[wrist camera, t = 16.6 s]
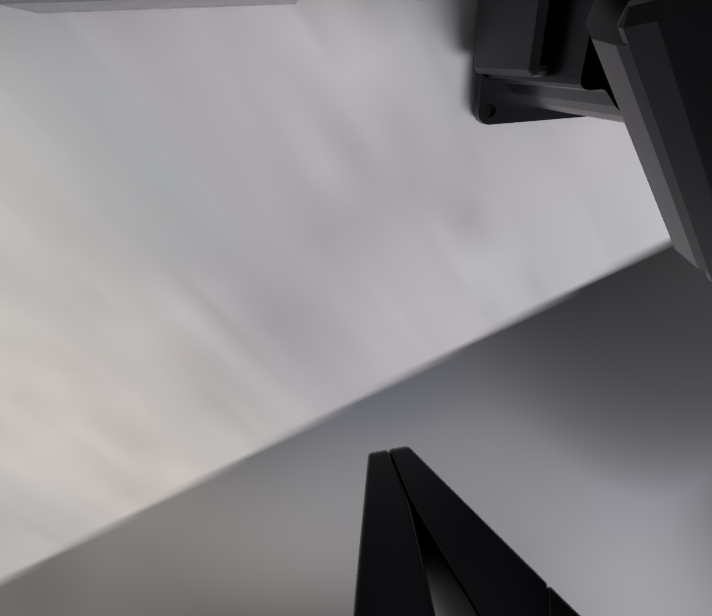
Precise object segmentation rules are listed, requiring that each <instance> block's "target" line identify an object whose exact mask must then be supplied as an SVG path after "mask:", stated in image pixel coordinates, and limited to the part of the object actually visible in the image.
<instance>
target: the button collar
mask: <svg viewBox="0 0 712 616" xmlns="http://www.w3.org/2000/svg"><path fill="white" fill-rule="evenodd" d="M297 1H298V0H0V5H2V6H7V7H12V8H17V9H21V10H26V11H31V12H35V13H56V12H83V11H111V10H139V9H166V8H194V7H222V6H249V5H277V4H296V2H297Z"/></svg>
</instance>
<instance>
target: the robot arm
mask: <svg viewBox="0 0 712 616" xmlns="http://www.w3.org/2000/svg"><path fill="white" fill-rule="evenodd" d="M473 67H474V69H475V70H476V71H477V82H476V94H475V105H474V116H475V118H476V120H477V121H478V122H480V123H483V124H488V125H490V124H502V123H514V122H526V121H538V120H550V119H562V118H574V117H586V116H588V117H594V118H600V119H606V120H612V121H617V122H623V123H625V125H626V127H627V130H628V132H629V135H630V137H631V140H632V142H633V145H634V147H635V150H636V152H637V155H638V157H639V160H640V162H641V165H642V167H643V170H644V172H645V175H646V177H647V180H648V182H649V185H650V187H651V190H652V192H653V195H654V197H655V200H656V203H657V205H658V208H659V210H660V213H661V215H662V218H663V220H664V223H665V225H666V228H667V230H668V233H669V235H670V238H671V240H672V243H673V245H674V248H675V249H676V250H677V251H678V252H679V253H680V254H682V255H683V256H684V257H685V258H687V260H689V261H690V262H691V263H692V264H693V265H695V266H696V267H697V268H698V269H700V270H702V271H704V272H706V275H707V278H708V279H709V280H710V281H711V282H712V0H479V2H478V14H477V26H476V39H475V51H474V63H473ZM489 104H490V105H491V109H492V110H491V113H490V114H489V115H488V116H485V115H484V110H485V108H486V106H487V105H489ZM353 616H580V615H579V614H578V613H577V612H576V611H575V610H574V609H572V607H571V606H570V605H569V604H568V603H567V602H566V601H564V600H563V598H561V596H559V594H558V593H556V592H555V590H553V588H551V587H548V588H547V583H546V582H545V581H544V580H543V579H542V578H541V577H540V576H539V575H538V574H537V573H536V572H535V571H534V570H533V569H532V568H531V567H530V566H529V565H528V564H527V563H526V562H525V561H524V560H523V559H522V558H521V557H520V556H519V555H518V554H517V553H516V552H515V551H514V550H513V549H512V548H511V547H510V546H509V545H508V544H507V543H506V542H505V541H504V540H503V539H502V538H501V537H500V536H499V535H497V533H495V531H494V530H492V529H491V528H490V526H488V525H487V524H486V523H485V522H484V521H483V520H482V519H481V518H480V517H479V516H478V515H477V514H476V513H475V512H474V511H473V510H472V509H471V508H470V507H469V506H468V505H467V504H466V503H465V502H464V501H463V500H462V499H461V498H460V497H459V496H458V495H457V494H456V493H455V492H454V491H453V490H452V489H451V488H450V487H449V486H448V485H447V484H446V483H445V482H444V481H443V480H442V479H441V478H440V477H439V476H438V475H437V474H436V473H435V472H434V471H433V470H432V469H431V468H430V467H429V466H428V465H426V463H425V462H424V461H423V460H422V459H420V457H419V456H418V455H416V453H414V452H413V451H412V449H410V448H409V447H407V446H403V447H398V448H392V449H390V450H389V452H388V451H386V450H382V451H376V452H372V453H370V454H369V455H368V463H367V473H366V484H365V494H364V505H363V516H362V525H361V536H360V546H359V557H358V568H357V579H356V589H355V599H354V610H353Z"/></svg>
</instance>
